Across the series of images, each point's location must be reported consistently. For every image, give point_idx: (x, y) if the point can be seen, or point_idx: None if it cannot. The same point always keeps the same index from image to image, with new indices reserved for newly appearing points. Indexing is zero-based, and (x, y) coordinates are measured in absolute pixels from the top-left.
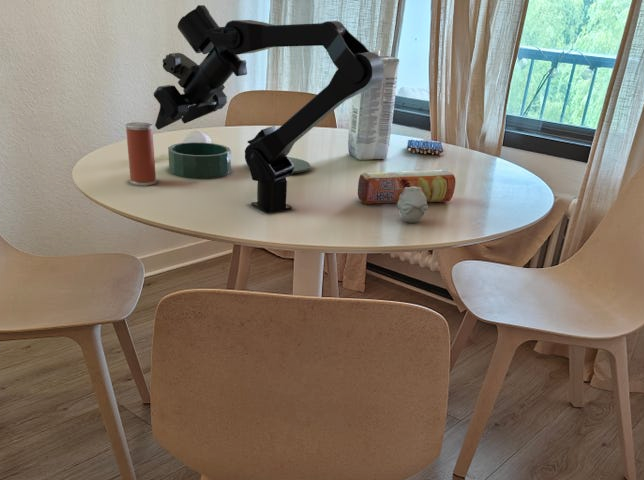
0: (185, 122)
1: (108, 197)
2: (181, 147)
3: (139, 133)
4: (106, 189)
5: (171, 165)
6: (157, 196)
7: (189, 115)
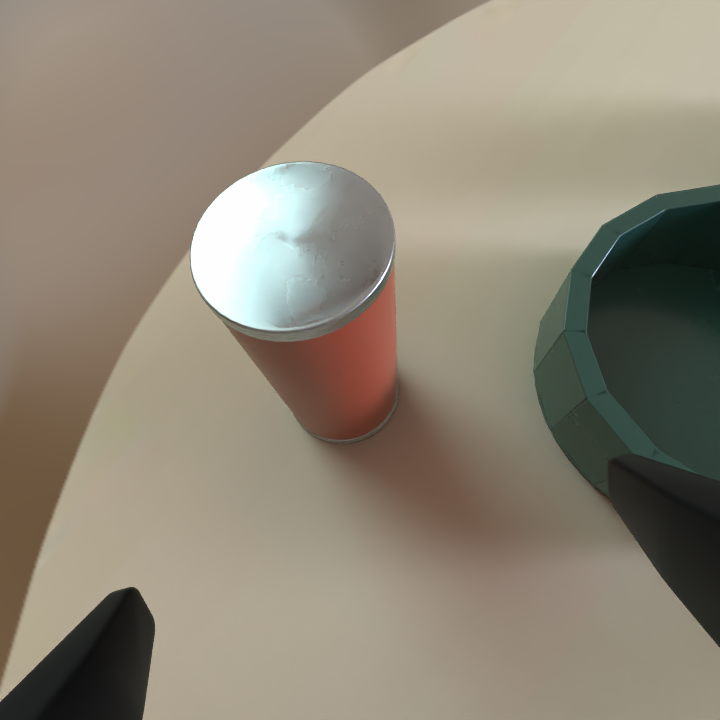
0: (625, 518)
1: (89, 489)
2: (703, 213)
3: (236, 334)
4: (167, 389)
5: (544, 332)
6: (239, 622)
7: (714, 584)
